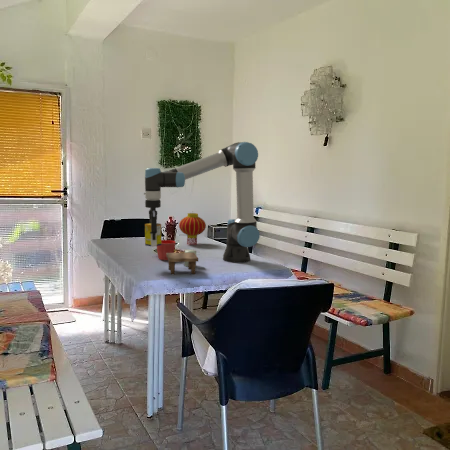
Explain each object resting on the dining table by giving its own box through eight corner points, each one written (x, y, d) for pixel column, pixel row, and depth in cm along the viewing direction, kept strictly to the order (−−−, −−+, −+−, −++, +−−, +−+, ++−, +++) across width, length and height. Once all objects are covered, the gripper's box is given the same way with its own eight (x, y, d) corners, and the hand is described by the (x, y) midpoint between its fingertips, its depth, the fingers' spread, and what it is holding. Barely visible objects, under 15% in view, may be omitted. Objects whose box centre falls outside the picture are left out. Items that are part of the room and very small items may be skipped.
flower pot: (179, 258, 269) (179, 241, 267) (166, 261, 260) (166, 243, 258) (165, 256, 274) (165, 239, 273) (151, 258, 265) (152, 241, 264)
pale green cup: (195, 264, 256) (195, 249, 254) (196, 267, 250) (197, 251, 249) (183, 264, 254) (184, 249, 253) (185, 267, 248) (185, 252, 247)
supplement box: (153, 243, 247) (153, 222, 245) (161, 245, 243) (161, 223, 241) (144, 245, 242) (144, 223, 240) (152, 246, 238) (152, 224, 237)
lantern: (210, 244, 317) (211, 198, 313) (196, 248, 302) (197, 200, 297) (187, 241, 325) (189, 196, 320) (173, 244, 309) (174, 198, 305)
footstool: (193, 268, 247) (193, 252, 246) (197, 274, 234) (198, 258, 233) (166, 268, 244) (166, 252, 243) (168, 275, 231) (169, 258, 230)
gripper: (144, 197, 248) (144, 241, 252) (146, 201, 228) (146, 248, 231) (158, 197, 250) (159, 240, 253) (162, 201, 230) (162, 248, 233)
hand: (153, 244), depth 242 cm, fingers closed on supplement box, 8 cm apart
